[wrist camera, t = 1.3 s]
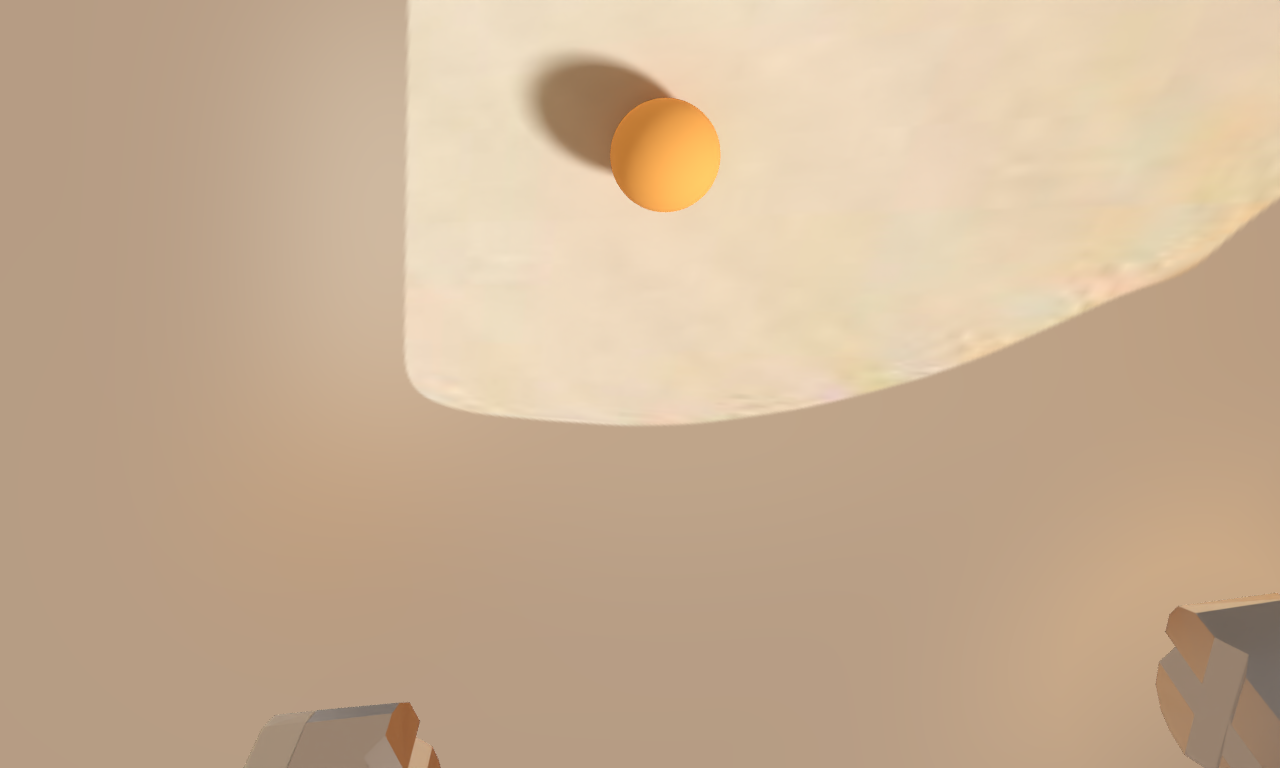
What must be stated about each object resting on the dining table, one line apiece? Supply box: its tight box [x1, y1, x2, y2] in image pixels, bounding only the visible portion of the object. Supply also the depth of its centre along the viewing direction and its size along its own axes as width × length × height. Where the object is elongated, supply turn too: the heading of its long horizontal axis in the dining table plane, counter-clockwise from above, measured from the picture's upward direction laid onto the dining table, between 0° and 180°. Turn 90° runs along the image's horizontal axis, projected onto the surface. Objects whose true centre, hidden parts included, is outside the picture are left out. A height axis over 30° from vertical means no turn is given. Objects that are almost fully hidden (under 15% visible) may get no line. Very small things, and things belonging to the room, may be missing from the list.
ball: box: [610, 98, 720, 212], centre depth 41 cm, size 6×6×6 cm
